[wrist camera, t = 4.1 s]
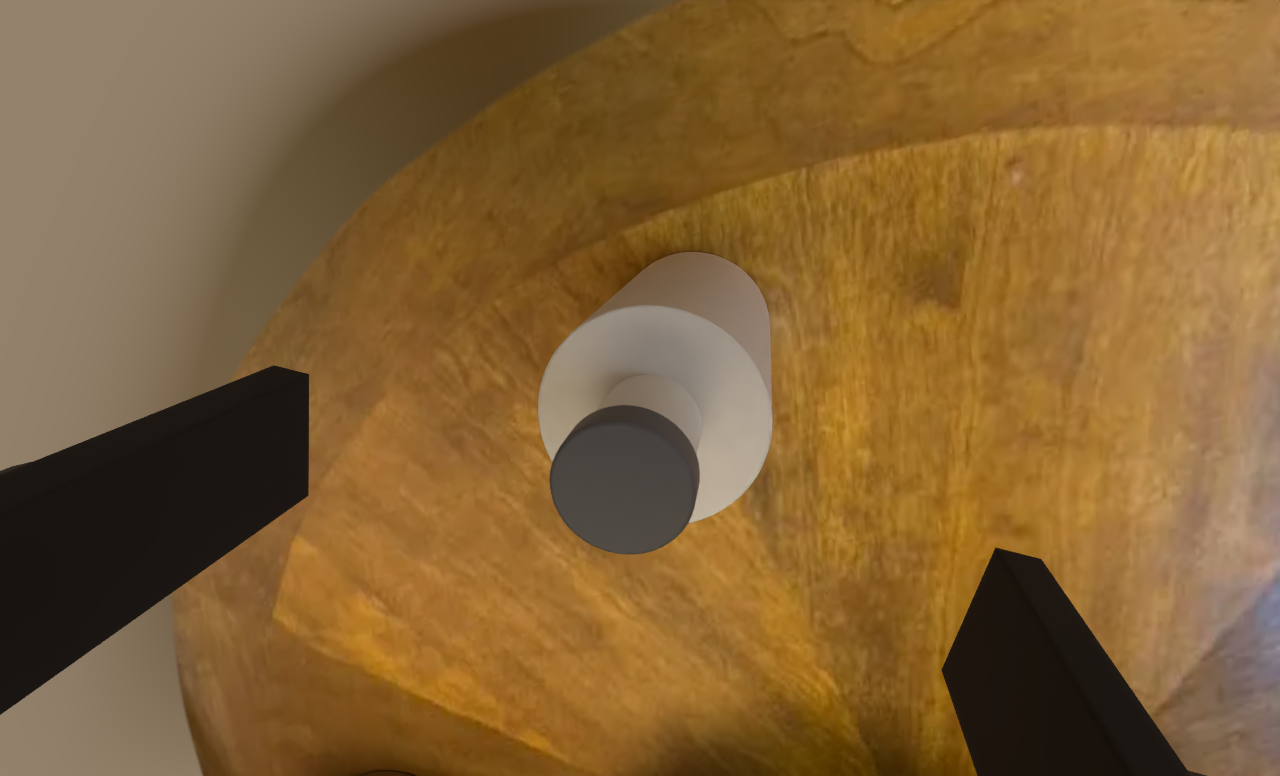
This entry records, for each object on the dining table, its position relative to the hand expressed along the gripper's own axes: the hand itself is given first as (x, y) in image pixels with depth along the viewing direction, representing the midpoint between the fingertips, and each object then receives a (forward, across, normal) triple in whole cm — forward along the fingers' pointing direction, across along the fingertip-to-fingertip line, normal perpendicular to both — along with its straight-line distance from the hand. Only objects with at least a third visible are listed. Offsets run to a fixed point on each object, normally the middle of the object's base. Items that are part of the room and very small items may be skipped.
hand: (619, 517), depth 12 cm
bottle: (+14, 0, 0) cm, 14 cm away
